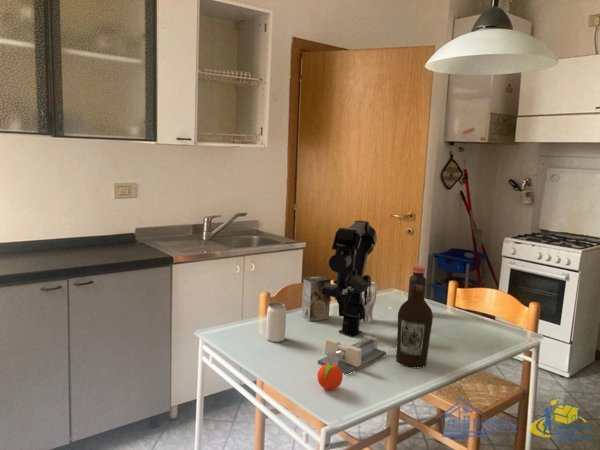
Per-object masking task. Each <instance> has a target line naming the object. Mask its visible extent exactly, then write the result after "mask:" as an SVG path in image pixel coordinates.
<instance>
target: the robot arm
mask: <svg viewBox="0 0 600 450" xmlns="http://www.w3.org/2000/svg"><path fill="white" fill-rule="evenodd" d="M377 242H378V237H377V231H376V230H375V228H374V227H372V226H371V224H370V222H368V221H366V220H355V221H354V223H352V224H351V225H350V226H349V227H339V228H338V229H337V230H336V231H335V235H334V239H333V242H332V246H331V250H335V252H334V253H335V254H333V255H332V256H331V257H330V258H329V260H328V265H329V269H331V271H332V272H334V273H336V278H335V279H333V284H332V283H331V284H327V285H324V286H323V287H321V294H324V295H328V296H330V298H335V301H336V302H337V305H338V317H342V325H341V326H342V327H341V328H342V329H340V330H338V333H340V334H343V335H346V336H350V337H351V338H353V337H356V336H359V335H361V334H363V331H362V330H360V323H361V322H360V320H362V319H365V308H364V304H363V299H362V296H361V293H362V292H364V291H366V290H367V288H368V286H371V284H370V283H371V282H372V278H371V277H372V276H370V275H368V274H366V275H365V270H366V267H367V263H368V262H367V261H368V256H369V255H370V254H372V252H373V251H374V248H375V245H376V244H377Z"/></svg>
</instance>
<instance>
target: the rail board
mask: <svg viewBox="0 0 600 450" xmlns="http://www.w3.org/2000/svg"><path fill="white" fill-rule="evenodd" d="M354 344H355V343H354ZM354 344H352V345H354ZM352 345H348V347H350V346H352ZM361 349H362V356H361V365H360V366H358V367H356V366H353V365H350V364H348V363H345V362H342V366H341V367H339V368H340V370H341V372H342V374H343V373H344V374H343V375H345V374H349V373H351V372H352V373H354V372H356V371H358V370H361V369H362V368H364V367H366V366H368V365H369V363H370V364H372V363H374V362H375V361H377V360H379V359H381V358H383V357H384V355H385V356H387V355H386V354H387V351H384V350H381V349H379V348H377V349H376V350H371V349H368V348H365V347H363V348H361ZM344 357H345V356H344ZM317 364H318V365H320V366H323V365H325V364H327V356H325V357H322V358H320V359H318V360H317ZM361 367H362V368H361ZM353 371H354V372H353ZM352 373H351V374H352ZM349 375H350V374H349Z"/></svg>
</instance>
